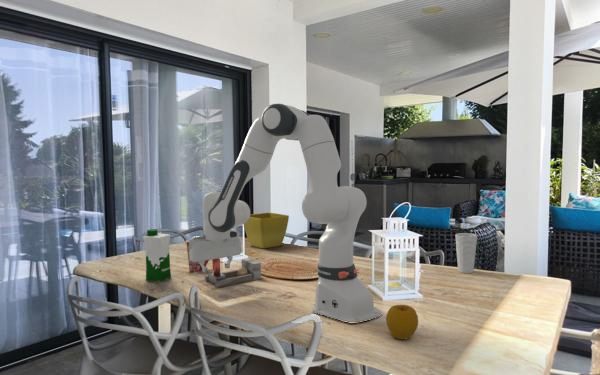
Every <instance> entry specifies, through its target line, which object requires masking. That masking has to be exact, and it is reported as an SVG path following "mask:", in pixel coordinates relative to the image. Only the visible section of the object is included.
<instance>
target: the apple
mask: <svg viewBox="0 0 600 375" xmlns="http://www.w3.org/2000/svg"><path fill="white" fill-rule="evenodd" d="M385 323H386V326H387V329H388V331H389V332H390V334H391V336H392V337H393V338H394V337H395V339H396V338H398V339H397V340H406V339H405V338H408V339H410V338H412V336H413V335H414V333H416V331H417V330H418V325H419V315H418V313H417V312H416V310H415V308H413V307H412V306H410V305H407V304H396V305H393V306H390V308H389V310H388V311H387V313H386V316H385Z"/></svg>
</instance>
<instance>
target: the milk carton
mask: <svg viewBox="0 0 600 375" xmlns="http://www.w3.org/2000/svg"><path fill="white" fill-rule="evenodd" d="M142 239H143V243H144V248H145V251H144V253H145V267H146V268H145V281H147V280H153V281H152V282H158V281H161V282H163V281H165V280H164V279H166V278H168V277H170V278H172V274H171V262H170V260H171V259H170V239H171V234H170V233H169V234H167V233H158V229H156V228H155V229H152V228H151V229H147V230H146V235H144V236H143V237H142ZM168 279H169V278H168ZM162 280H163V281H162ZM166 280H167V279H166Z"/></svg>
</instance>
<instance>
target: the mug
mask: <svg viewBox="0 0 600 375" xmlns="http://www.w3.org/2000/svg"><path fill="white" fill-rule="evenodd" d="M190 239H191V238H190ZM190 239H189V238H188V239H186V240H185V243H186V249H187V250H186V252H187V253H186V254H187V262H188V270H189V272H190V273H196V272H198V273H199V272H202V267H201V265H200V264H199V262H192V261H191V260H190V259H189V251H190V247H189V241H190ZM192 240H193V239H192ZM208 262H210V260H206V261H205V264H204V266H205V267H207V265H208Z"/></svg>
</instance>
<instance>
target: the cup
mask: <svg viewBox="0 0 600 375" xmlns="http://www.w3.org/2000/svg"><path fill="white" fill-rule="evenodd" d="M477 241H478V235H477V233H476V234H475V233H472V232H471V233H469V232H458V233H455V249H456V260H457V271H458V273H461V274H473V273H474V271H475V260H476V251H477V243H478V242H477Z"/></svg>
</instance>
